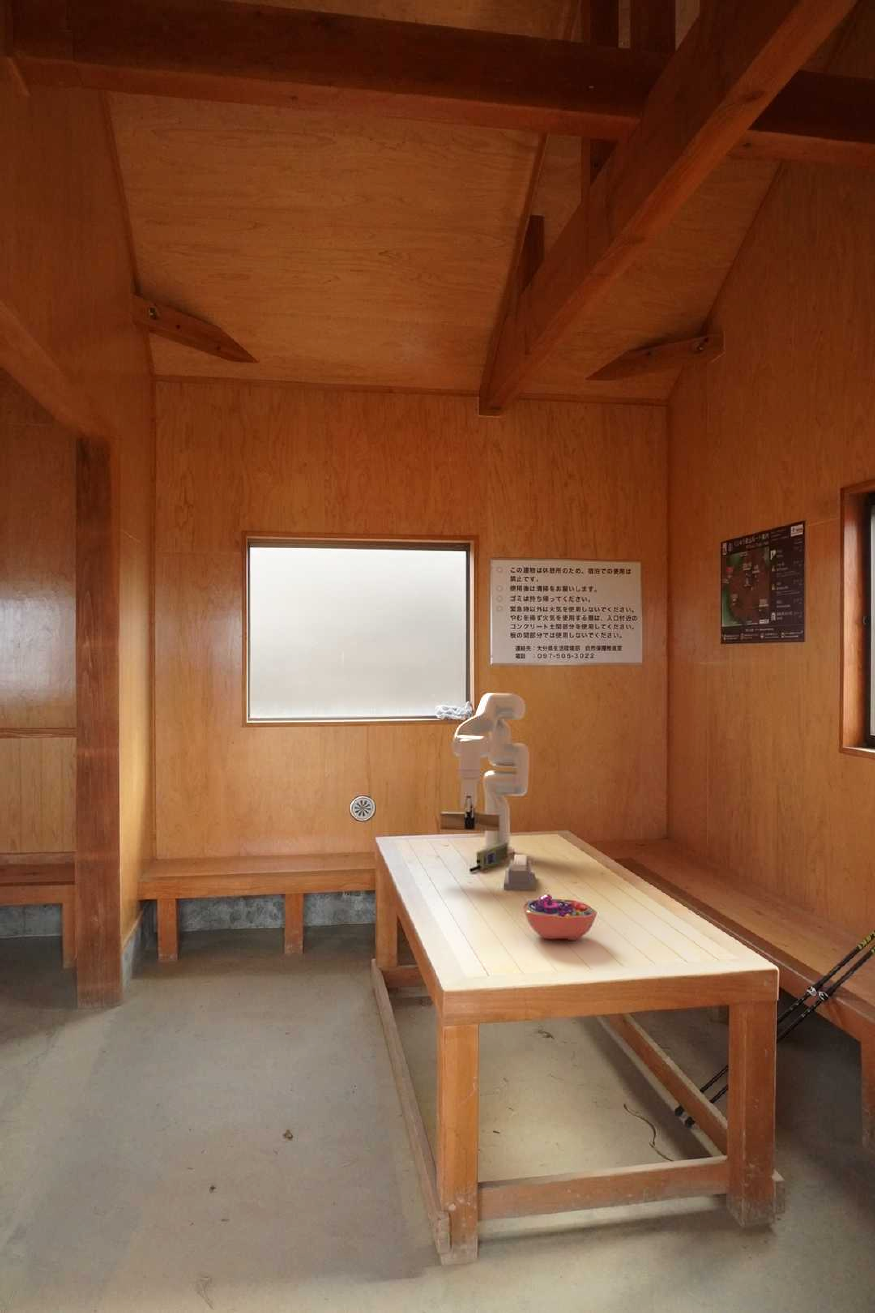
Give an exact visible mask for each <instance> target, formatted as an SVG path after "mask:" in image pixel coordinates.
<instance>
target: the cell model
mask: <svg viewBox="0 0 875 1313" xmlns="http://www.w3.org/2000/svg"><path fill="white" fill-rule="evenodd" d="M522 909H523V910H524V913H525V916H526V919H527V920H526V921H527V922H528V924H529V925H530V926H531V928H532V930H533V931H535V933H537V934H538V935H539V936H540V937H541V938H543V939H545V940H561V939H562V940H569V941H576V940H579V939H581V938H582V937H583V936H585V935H586V934H587V933H588V932H589V931H590V930H591V928H592V926H593V924H594V922H595V920H596V917H597V914H598V911H596V910H595V909H594V908H593V907H592V906H590V905H589V904H586V903H584V902H580V901H577V900H575V899H574V900H573V899H561V898H559V899H558V898H553V897H552V895H550V894H549V893H548V894H544V895H542V896H540V897H539V899H532V900H528V901H526V902H525V903H524V904H523V905H522Z"/></svg>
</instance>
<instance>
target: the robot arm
mask: <svg viewBox="0 0 875 1313" xmlns="http://www.w3.org/2000/svg"><path fill="white" fill-rule="evenodd" d="M526 709H527V707H526V703H525V700H524V698H522V697H520V695H517V694H515V693H512V692H511V693H509V692H506V693H505V692H489V693H486V694H484V695H483V696H481V699H480V702H479V704H478V707H477V708H476V712H475V714H474V716H473V717H470V718H469V719H467V720H465V721H464V722H463V723H461V724H460V725H459V726H458V727H457V728H456V732H455V734H454V736H453V739H452V741H451V742H452V743H451V750H452V753H453V755H455V756H457V757H459V758H458V759H459V760H458V761H459V762H458V763H459V771H458V772H459V773H458V774H459V775H458V776H459V778H458V779H459V780H461V792H460V793H461V795H460V796H461V798H460V808H461V809H464V808H465V810H464V812H465V829H474V817H473V815H474V812H476V807H477V805H478V797H479V796H478V794H479V792H478V790H479V780H482V783H483V784H482V785H483V792H484V800H485V801H484V803H485V805H484V807H485V809H484V810H485V812H484V813H500V829H499V831H484V833H485V834H484V835H485V836H484V837H485V838H484V839H485V840H484V841H485V842H484V843H485V845H484V846H482V847H481V849H480V850H483V849H486V848H489V847H491V846H494V845H497V844H500V843H502V842H507V843H508V855H510V854H511V855H512V854H513V853H514V847H513V846H511V845H510V844H511V842H510V840H511V839H510V838H511V836H510V834H511V831H510V827H511V825H510V823H511V821H510V818H511V815H510V814H511V812H510V811H511V810H510V804H509V801H508V800H507V798H506V797H505V796H511V797H513V796H514V797H522V796H525V795H526V794H527V792H528V789H529V775H530V774H529V772H530V770H529V768H530V753H529V752H530V751H529V748H528V746H527V745H526V744H524V743H522V742H521V743H520V742H511V737H512V731H511V728H510V726H509V724H508V723H507V721H506V720H521V719H523V718H524V717H525V715H526V711H527V710H526ZM484 734H488V737H487V736H485V735H484ZM483 735H484V736H483ZM483 758H484V759H485V758H488V759H487V760H488V763H489V764H490V766H493V767H499V768H514V769H516V770H505V769H504V770H501V769H493V770H487V771H486V772H485V773H484V775H483V777H482V759H483Z"/></svg>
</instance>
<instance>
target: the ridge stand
mask: <svg viewBox="0 0 875 1313" xmlns="http://www.w3.org/2000/svg"><path fill="white" fill-rule="evenodd" d="M513 858H514V859H510V860H509V866H508V870H506V871H505V875H504V880H503V890H508V891H509V890H510V891H530V892H531V891H532V892H533V891H536V890H535V888H536V871H532V866H531V865H532V862H531V860H527V854H514V856H513Z"/></svg>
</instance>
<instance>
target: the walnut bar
mask: <svg viewBox="0 0 875 1313" xmlns="http://www.w3.org/2000/svg"><path fill="white" fill-rule="evenodd" d="M473 817H474V829H465V811H441V813H440V830H444V831H445V830H446V831H447V830H449V831H451V830H452V831H475V832H476V831H480V832H482V831H484V832H485V831H499V829H500V813H485V812H478V811H475V812H474V815H473Z"/></svg>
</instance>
